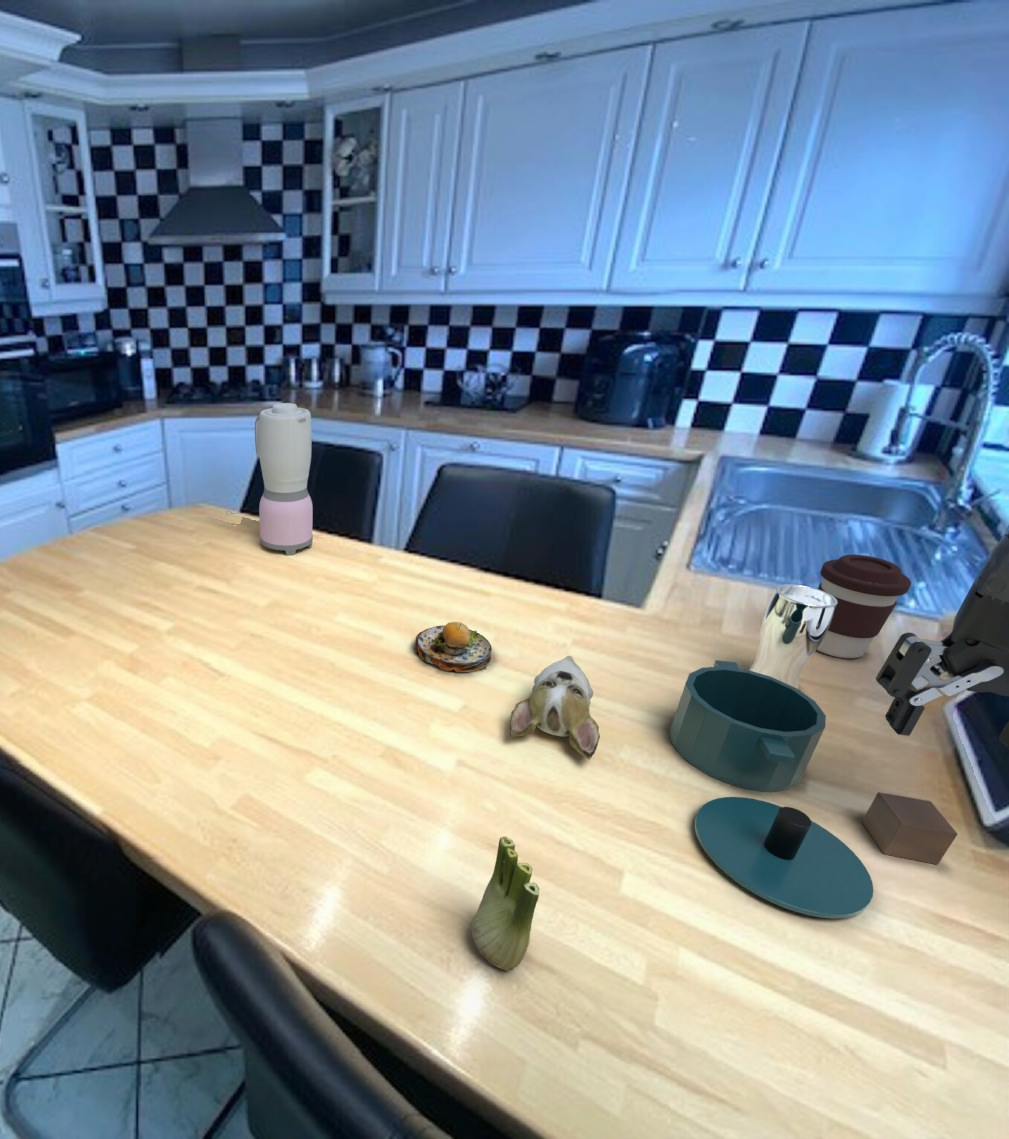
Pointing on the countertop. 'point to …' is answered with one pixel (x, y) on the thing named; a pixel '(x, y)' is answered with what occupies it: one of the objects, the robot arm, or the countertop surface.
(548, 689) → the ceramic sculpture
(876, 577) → the coffee cup
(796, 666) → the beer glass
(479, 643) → the burger
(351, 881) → the countertop surface
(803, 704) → the pot
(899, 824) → the block
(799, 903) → the lid
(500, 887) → the fennel bulb
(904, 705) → the robot arm
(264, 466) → the blender
